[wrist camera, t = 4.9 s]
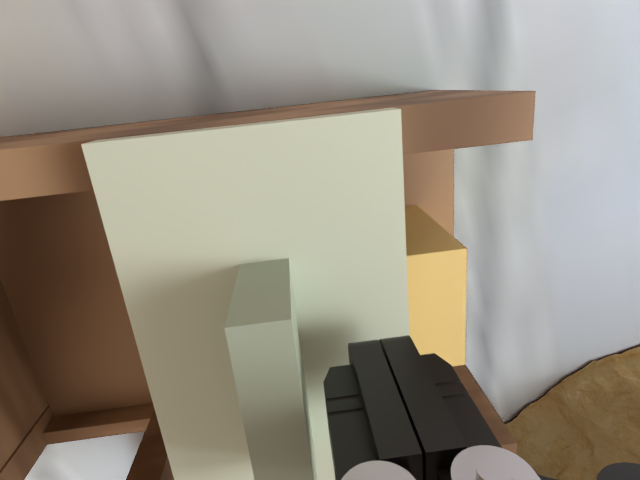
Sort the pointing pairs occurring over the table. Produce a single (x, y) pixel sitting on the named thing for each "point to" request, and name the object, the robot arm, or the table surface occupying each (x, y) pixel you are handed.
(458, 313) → the block
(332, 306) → the lid
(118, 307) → the wooden drawer box
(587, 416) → the rock
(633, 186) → the table surface
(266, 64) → the table surface
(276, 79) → the table surface
